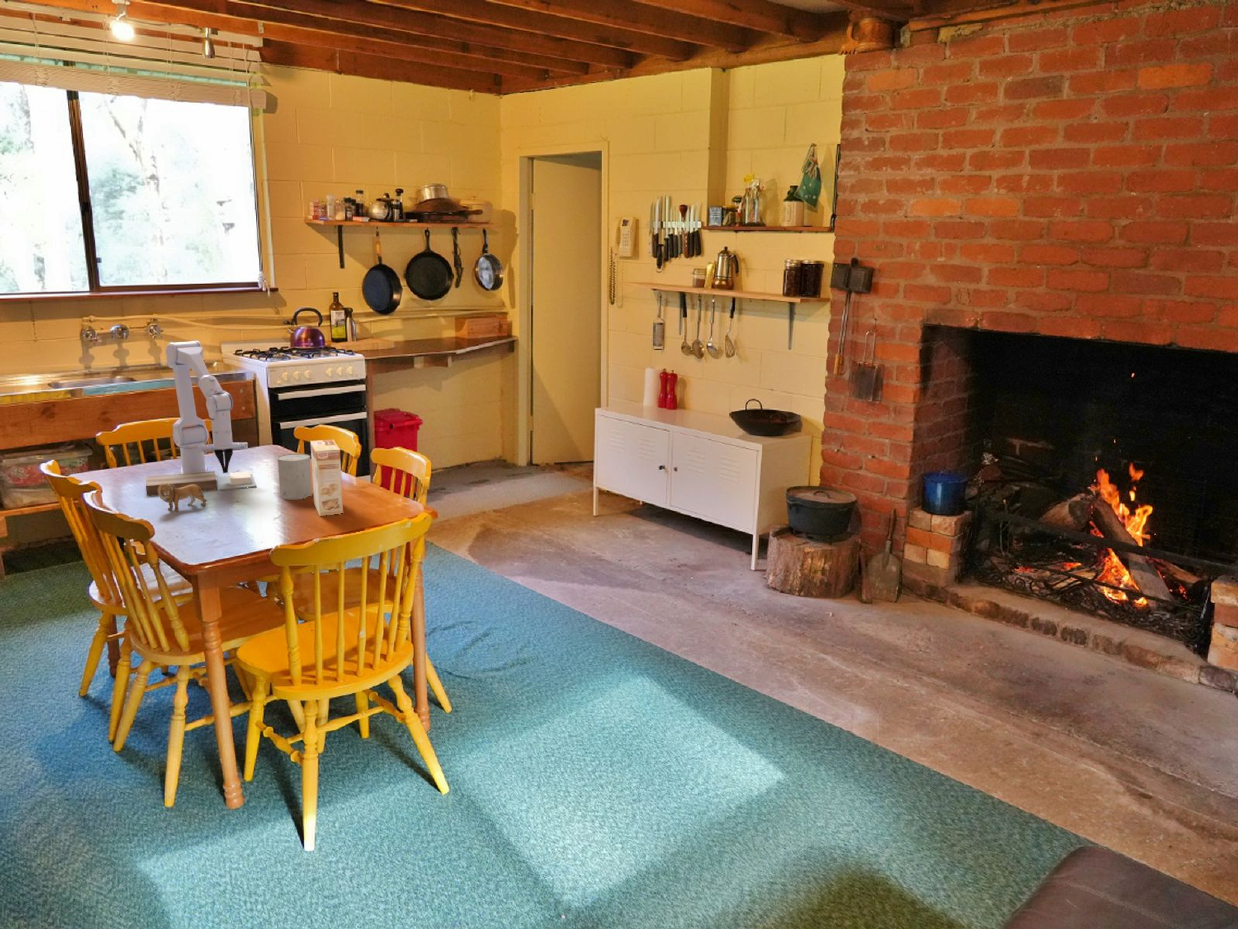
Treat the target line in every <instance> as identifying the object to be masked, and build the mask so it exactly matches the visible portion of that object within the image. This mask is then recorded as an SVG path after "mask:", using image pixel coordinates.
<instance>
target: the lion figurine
mask: <svg viewBox="0 0 1238 929" xmlns="http://www.w3.org/2000/svg"><path fill="white" fill-rule="evenodd" d="M157 491H158V494H157V495H158V496H159V498H160V499H161V500H162V501H163V502H165V503H168V505H169V508H168V509H167V511H172V510H173V512H174V511H177V512H179V511H180V510H179V509H180V508H179V503H180V502H179V501H180V500H185V499H187V498H190V502H189V503H187V506H190V507H191V506H192V505H193V504H194V503H195V501H196V499H197V500H199V501H201V502H202V503H201V504H200V506H202V507H204V505H205V506H206V502H207V500H206V499H205V496H204V493H203V490H201V488H200V487H199V486H197V485H194V484H191V485H188V486H185V487H181V488H179V487H176V486H175V485H171V484H169V483H161V484H160V485H159V487H158V490H157ZM195 498H196V499H195ZM173 504H174V505H173ZM173 507H174V509H173Z"/></svg>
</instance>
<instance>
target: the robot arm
mask: <svg viewBox="0 0 1238 929" xmlns="http://www.w3.org/2000/svg"><path fill="white" fill-rule="evenodd" d="M165 355H166V356H165V357H166V362H167V366H168V368H170V369H172V371H173V379H174V385H175V390H176V391H175V392H176V396H177V397H176V399H177V402H178V403H177V404H178V410H179V416H180V417H179V418H178V419H177V420H176V421H175V422H174V423H173V424H172V431H173V432H172V440H173V442H174V444H175V445H176V446H177V447H179V449H180V450H179V451H180V460H181V467H180V474H186V473H198V472H208V467H207V465H206V460H205V453H209V452H214V455H215V457H216V458H217V460H218V462H219V464H220V467H221V470H222V473H223V474H228V473H229V465H230V462H231V459H232V456H233V453H234V452H233V450H235V451H236V450H248V449H249V448H248V447H249V446H248V445H249V444H248V442H244V441H243V442H233V432H232V431H233V430H232V420H231V418H232V417H231V410H233V407H234V400H233V397H232V395H231V394H230V393H229V392H227V391H226V390H223V388H222V387H221V385H220V383H219V381H218V379H217V378H216V377H215V376H214V375H210V372H209V369H208V368H207V365H206V363H205V361H204V348H203V346H202V344H201V342H200V341H198V340H192V341H180V342H169V343H167V345H166V348H165ZM191 371H192V372H193V373H194V375H195V376H196V377H197V379H198V387H199V389H200V391H201V392H202V394H203V395H204V398H205V399H206V402H205V406H206V409H207V411H208V416H209V419H211V420H210V421H211V434H212V443H209V444H206V443H207V442H208V440H209V430H208V429H207V426H206V422H205V420H203V419H202V418H200V417H198V416H197V410H196V403H195V397H194V396H195V395H194V392H193V384H192V378H191V377H192V376H191Z"/></svg>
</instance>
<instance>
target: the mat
mask: <svg viewBox="0 0 1238 929" xmlns="http://www.w3.org/2000/svg"><path fill="white" fill-rule="evenodd" d="M250 476H251V483H247V484H236V485H231V482H230V476H229V475H225V476H222V475H221V476H216V481H217V488H218V490H220V491H228V490H229V491H231V489H232V490H238V489H239V488H243V489H248V488H247V487H254V488H257V484H256V481H255V477H254V476H253V473H250ZM239 490H240V489H239Z"/></svg>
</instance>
